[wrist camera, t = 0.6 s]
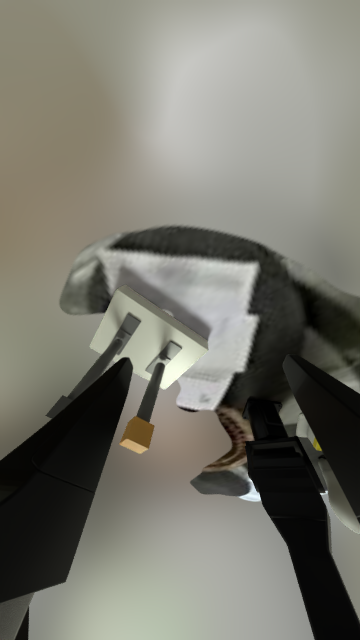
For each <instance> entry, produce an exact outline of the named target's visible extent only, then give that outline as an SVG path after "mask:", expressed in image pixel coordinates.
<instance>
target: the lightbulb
mask: <svg viewBox="0 0 360 640" xmlns="http://www.w3.org/2000/svg"><path fill="white" fill-rule="evenodd" d="M318 464H319V466H320V468H321V470H322V472H323V476H324V479H325V481H326V484H327V488H328V496H329V502H330V505H331V507H332V509H333V511H334V513H335V514H336V516H337V517H338V518H339V519H340V520H341V522H342V523H343V524H344V525H346V526H347V527H348V528H349V529H351V530H352V531H354V532H356V533H358V534H360V524H359V522H358V520H357V517H356V516H355V514H354V512H353V510H352V508H351V506H350V504H349V502H348V500H347V498H346V496H345V495H344V493H343V491H342V489H341V487H340V485H339V483H338V481H337V479H336V477H335V475H334V473H333V471H332V469H331V467H330V465H329V463H328V461H327V460H325V459H324V458H320V460H319V461H318Z"/></svg>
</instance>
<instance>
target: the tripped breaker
mask: <svg viewBox="0 0 360 640" xmlns="http://www.w3.org/2000/svg"><path fill="white" fill-rule="evenodd" d="M164 370H165V365H164V364H163V363H162V362H159V363H157V364H156V365H155V368H154V370H153V373H152V376H151V378H150V381H149V384H148V387H147V389H146V392H145V395H144V397H143V400H142V402H141V405H140V408H139V410H138V413H137V416H135V417H133V419H131V420H130V421H129V422H128V424H127V427H126V429H125V432H124V434H123V436H122V439H121V441H120V445H122V446H124V447H126V448H128V449H130V450H133V451H135V452H137V453H139V454H141V453H143V452H144V451H146V450H147V449H149V445H150V441H151V437H152V434H153V429H154V425H152V424H150V423H149V422H150V418H151V415H152V411H153V408H154V405H155V401H156V398H157V394H158V391H159V387H160V384H161V380H162V377H163V374H164Z"/></svg>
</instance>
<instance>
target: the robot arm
mask: <svg viewBox="0 0 360 640" xmlns="http://www.w3.org/2000/svg"><path fill="white" fill-rule="evenodd" d="M283 369H284V372H285V374H286V377H287V380H288V382H289V385H290V387H291V390H292V392H293V395H294V397H295V399H296V401H297V403H298V405H299V407H300V409H301V411H302V413H303V415H304V417H305V419H306V420H307V422H308V424H309V426H310V428H311V430H312V432H313V434H314V436H315V438H316V440H317V442H318V444H319V446H320V448H321V450H322V452H323V454H324V456H325V457H326V459H327V461H328V463H329V465H330V467H331V469H332V471H333V473H334V475H335V477H336V479H337V481H338V483H339V485H340V487H341V489H342V491H343V493H344V495H345V496H346V498H347V500H348V502H349V504H350V506H351V508H352V510H353V512H354V514H355V516H356V517H357V520H358V522H359V524H360V394H359V393H358V392H356V391H354V390H353V389H351V388H350V387H348V386H346V385H345V384H343V383H342V382H340V381H338V380H337V379H335V378H334V377H332V376H331V375H329V374H327V373H326V372H324V371H323V370H321V369H319V368H318V367H316V366H315V365H313V364H311V363H310V362H308V361H307V360H305V359H304V358H302V357H300V356H299V355H297V354H288V355H287V356H286V358H285V360H284V362H283ZM132 372H133V365H132V362H131V360H130V358H129V357H122V358H121V359H120V360H118V361H117V362H116V363H115V364H114V365H113V366H112V367H111V368H109V369H108V370H107V371H106V372H105V373H104V374H103V375H101V376H100V377H99V378H98V379H97V380H96V381H95V382H93V383H92V384H91V385H90V386H89V387H88V388H87V389H85V390H84V391H83V392H82V393H81V394H80V395H79V396H78V397H76V398H75V399H74V400H73V401H72V402H71V403H70V404H68V405H67V406H66V407H65V409H63V410H62V411H60V412H59V413H58V414H57V415H56V416H55V417H54V418H52V419H51V420H50V421H49V422H48V423H47V424H45V425H44V426H43V427H42V428H41V429H39V430H38V431H37V432H36V433H34V434H33V435H32V436H31V437H29V438H28V439H27V440H26V441H24V442H23V443H22V444H21V445H19V446H18V447H17V448H16V449H14V450H13V451H12V452H10V453H9V454H8V455H7V456H5V457H4V458H3V459H2V460H0V640H28V628H29V604H30V602H31V600H32V597H33V595H34V593H35V592H37V591H40V590H43V589H46V588H49V587H52V586H55V585H58V584H61V583H64V582H66V579H67V577H68V574H69V571H70V568H71V565H72V562H73V559H74V556H75V553H76V550H77V547H78V543H79V541H80V537H81V535H82V532H83V528H84V525H85V522H86V519H87V516H88V513H89V510H90V507H91V504H92V501H93V498H94V495H95V491H96V488H97V486H98V482H99V479H100V476H101V473H102V470H103V467H104V464H105V461H106V458H107V455H108V452H109V449H110V446H111V443H112V440H113V437H114V434H115V431H116V428H117V425H118V422H119V419H120V415H121V413H122V410H123V407H124V403H125V401H126V397H127V394H128V390H129V385H130V381H131V376H132ZM281 408H282V404H281V403H280V402H272V401H263V400H254V399H248V401H247V404H246V406H245V409H244V412H243V415H242V417H243V419H249V422H250V425H251V429H252V433H253V436H254V440H255V441H245V442H246V446H245V449H246V454H247V463H248V476H249V478H250V479H251V480H252V481H253V484H254V486H255V489H256V491H257V492H259V493H260V497H261V501H262V504H263V507H264V508H265V510H266V512H267V514H268V515H269V516H270V518H271V520H272V521H273V523H274V524H275V526H276V528H277V529H278V531H279V533H280V534H281V536H282V538H283V539H284V541H285V542H286V544H287V546H288V549H289V553H290V556H291V559H292V563H293V566H294V570H295V573H296V577H297V580H298V584H299V587H300V590H301V593H302V597H303V601H304V604H305V608H306V611H307V615H308V618H309V622H310V625H311V628H312V632H313V635H314V639H315V640H360V620H359V618H358V616H357V613H356V611H355V609H354V606H353V604H352V602H351V599H350V597H349V594H348V592H347V590H346V587H345V585H344V583H343V580H342V578H341V576H340V573H339V571H338V568H337V566H336V564H335V561H334V559H333V556H332V549H331V548H332V547H331V527H330V517H329V514H328V511H327V508H326V505H325V503H324V501H323V499H322V497H321V494H320V493H325V490H324V488H323V486H322V483H321V481H320V479H319V477H318V475H317V473H316V471H315V469H314V467H313V465H312V463H311V461H310V459H309V457H308V455H307V453H306V452H305V450H304V448H303V446H302V444H301V442H300V440H299V438H298V436H294V437H289V436H288V434H287V432H286V430H285V427H284V425H283V422H282V420H281V418H280V416H279V411H280V409H281Z"/></svg>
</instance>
